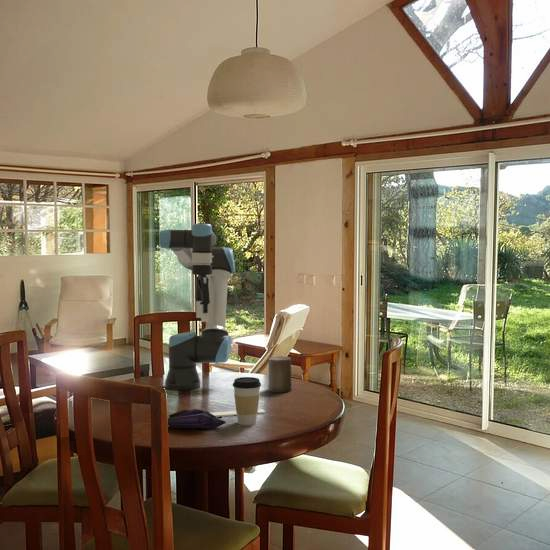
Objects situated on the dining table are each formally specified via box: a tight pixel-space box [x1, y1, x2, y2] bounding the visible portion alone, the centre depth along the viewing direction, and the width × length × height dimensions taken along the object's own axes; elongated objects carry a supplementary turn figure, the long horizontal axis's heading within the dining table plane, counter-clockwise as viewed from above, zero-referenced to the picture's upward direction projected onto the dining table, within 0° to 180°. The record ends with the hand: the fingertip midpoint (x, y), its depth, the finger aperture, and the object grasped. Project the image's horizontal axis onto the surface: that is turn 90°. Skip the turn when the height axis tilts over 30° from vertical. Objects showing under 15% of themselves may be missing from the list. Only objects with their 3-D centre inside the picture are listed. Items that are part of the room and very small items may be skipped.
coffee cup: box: [232, 376, 262, 426], centre depth 212 cm, size 10×10×15 cm
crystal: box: [167, 408, 226, 430], centre depth 207 cm, size 7×12×20 cm
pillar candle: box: [268, 355, 292, 393], centre depth 261 cm, size 10×10×15 cm
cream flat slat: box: [210, 408, 266, 418], centre depth 223 cm, size 4×24×1 cm, turn 105°
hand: (202, 319), depth 236 cm, fingers open, 13 cm apart
